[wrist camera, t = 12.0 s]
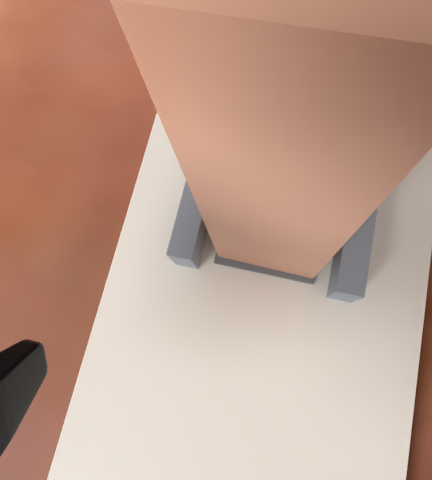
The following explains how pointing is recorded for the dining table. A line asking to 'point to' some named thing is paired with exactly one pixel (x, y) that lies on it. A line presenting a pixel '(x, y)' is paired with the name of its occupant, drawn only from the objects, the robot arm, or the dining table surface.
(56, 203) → the dining table surface
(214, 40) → the tall peach block
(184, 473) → the dock
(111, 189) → the dining table surface
